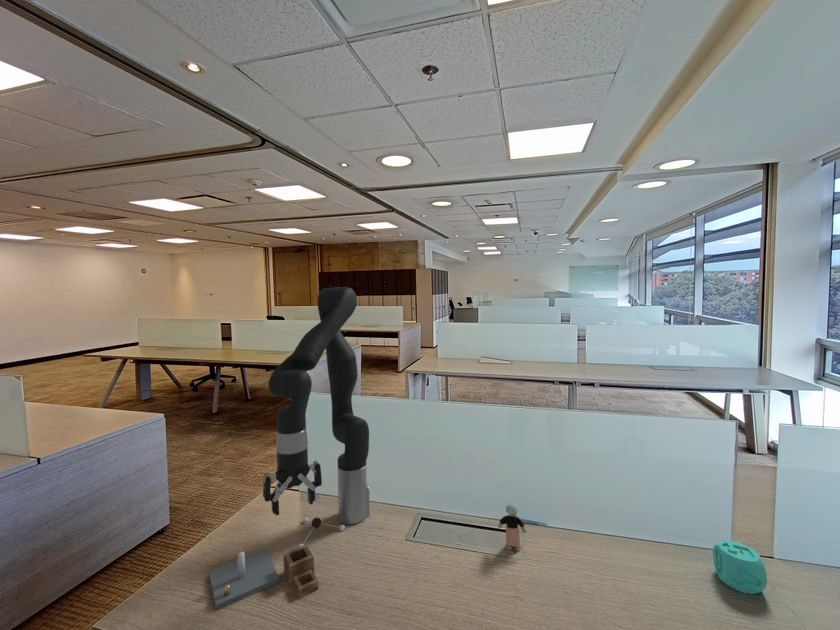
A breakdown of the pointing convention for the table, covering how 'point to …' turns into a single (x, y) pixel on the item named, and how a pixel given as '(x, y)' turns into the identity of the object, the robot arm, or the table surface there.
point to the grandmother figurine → (512, 527)
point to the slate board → (242, 578)
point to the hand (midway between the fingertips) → (293, 508)
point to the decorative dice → (739, 567)
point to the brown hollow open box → (300, 570)
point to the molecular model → (318, 522)
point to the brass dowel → (226, 589)
